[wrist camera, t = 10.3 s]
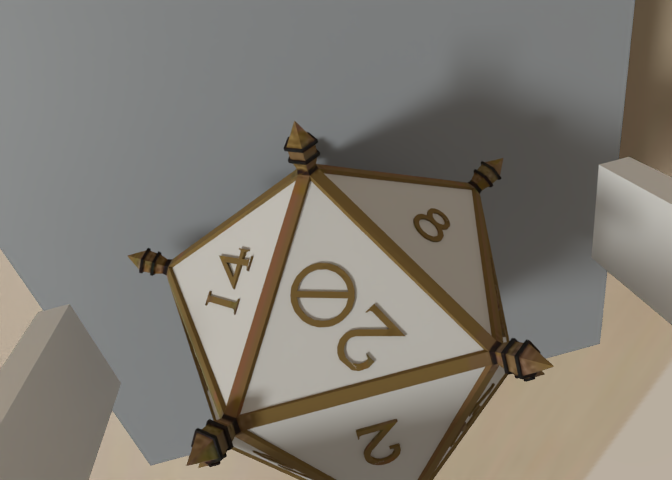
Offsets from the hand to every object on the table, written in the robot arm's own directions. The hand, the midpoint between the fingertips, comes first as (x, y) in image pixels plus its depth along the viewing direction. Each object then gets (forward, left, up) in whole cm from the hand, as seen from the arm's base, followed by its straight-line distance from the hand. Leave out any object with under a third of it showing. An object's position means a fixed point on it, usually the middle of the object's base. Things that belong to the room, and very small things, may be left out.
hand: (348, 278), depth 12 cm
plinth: (0, 0, -8) cm, 8 cm away
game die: (0, 0, -3) cm, 3 cm away
